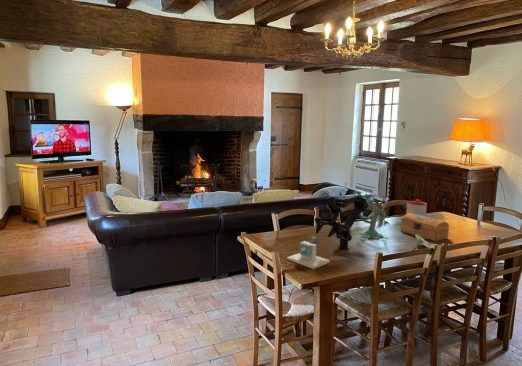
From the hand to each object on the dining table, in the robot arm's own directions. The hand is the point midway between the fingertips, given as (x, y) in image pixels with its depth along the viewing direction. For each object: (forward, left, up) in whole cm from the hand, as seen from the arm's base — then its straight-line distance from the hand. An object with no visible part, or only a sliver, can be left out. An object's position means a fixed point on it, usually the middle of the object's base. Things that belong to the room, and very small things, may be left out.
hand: (322, 235), depth 244 cm
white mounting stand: (+8, -10, -14) cm, 18 cm away
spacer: (+10, -12, -9) cm, 18 cm away
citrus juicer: (-80, +96, -14) cm, 126 cm away
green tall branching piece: (-42, +47, -14) cm, 65 cm away
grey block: (+8, -9, -12) cm, 17 cm away
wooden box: (-45, +87, -14) cm, 99 cm away
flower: (-15, +68, -14) cm, 71 cm away
